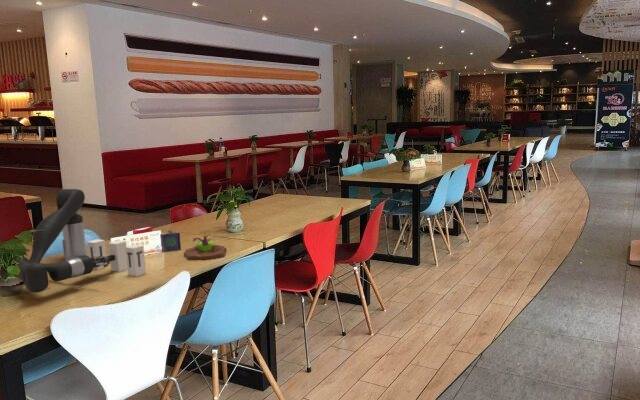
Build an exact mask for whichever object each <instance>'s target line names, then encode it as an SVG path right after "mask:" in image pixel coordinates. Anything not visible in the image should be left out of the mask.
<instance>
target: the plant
mask: <svg viewBox="0 0 640 400" xmlns="http://www.w3.org/2000/svg"><path fill="white" fill-rule="evenodd" d="M203 239H204V240H203ZM203 239H202V238H201V237H194V238H193V239H192V242H196V240H198V241H199V240H200V241H199V242H200V243H197V244H193V245H194V247H191V248H188V249H187V248H186V249H185V251H183V257H184V258H185V257H186V258H187V259H186V258H185V259H186V260H188V261H196V260H203V261H212V260H215V259H221V258H222V259H223V258H224V257H225V256H226V252H227V247H225V246H223V245H219V244H215V243H214V242H215V241H214V240H210V242H209V241H207V239H208V234H207V233H206V232H205V233H203ZM211 259H212V260H211Z"/></svg>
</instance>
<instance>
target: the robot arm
mask: <svg viewBox="0 0 640 400" xmlns="http://www.w3.org/2000/svg"><path fill="white" fill-rule="evenodd" d="M55 198H56V208H57V210H56V211H54V212H52V213H51V214H49V215H47V216H46V217H45V218H43V219H42V220H41V221H40V222H39V224H38V225H37V226H36V228H35V229H34V230H42V231H43V232H34V231H33V232H34V233H33V232H32V237H33V240H34V241H33V244H31V247H32V249H31V250H32V251H31V255H30V256H29V257H30V258H29V259H28V258H27V257H25V256H24V255H23V256H22V258H23V259H22V260H23V261H22V264H17V266H18V267H19V269H20V273H19V274H18V278H20V279H21V280H22V281H23V283H24V285H25V288H26V290H27V291H28V292H32V293H41V292H44V291H45V290H47V288H48V287H49V277H50V279H51V280H52V281H53V282H60V281H61V282H62V281H64V280H68V279H74V278H79V277H82V276H85V275H88V274H91V273H92V272H93V270H94V269H93V268H98V267H100V266H104V268H106V267H108V266H109V265H110V261H114V260H115V255H106V256H103V257H101V256H97V257H89V255H88V254H87V253H88V251H87V245H86V243H87V242H86V235H85V227H84V219H83V216H82V214H79V213H78V211H79V210H80V209H81V208H82V207H83V204H84V203H85V200H86V199H85V198H86V196H85V193H84V191H83V190H81V189H77V188H62V189H59V191H58V192H57V193H56V197H55ZM61 232H62V237H63V239H62V240H61V241H62V251H63V257H64V258H63V259H64V260H63V261H60V262H59V261H58V262H54V263H42V259H43V258H44V256H45V254H46V253H47V251H48V250H49V249H50V248H51V246H52V245H53V243H54V242H55V241H56V239H57V238H58V237H59V235H60V234H61ZM40 262H41V263H40ZM48 275H49V276H48Z"/></svg>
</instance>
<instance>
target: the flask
mask: <svg viewBox="0 0 640 400" xmlns="http://www.w3.org/2000/svg"><path fill="white" fill-rule="evenodd" d="M159 235H160V238H159V239H160V246H161V247H162V250H161V252H162V253H163V252H164V253H166V252H175V251H181V250H182V249H181V248H182V246H181V245H182V244H181V234H180V232H179V231H172V230H171V228H169V229H167V232H164V233H160V234H159ZM161 247H160V248H161Z"/></svg>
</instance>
